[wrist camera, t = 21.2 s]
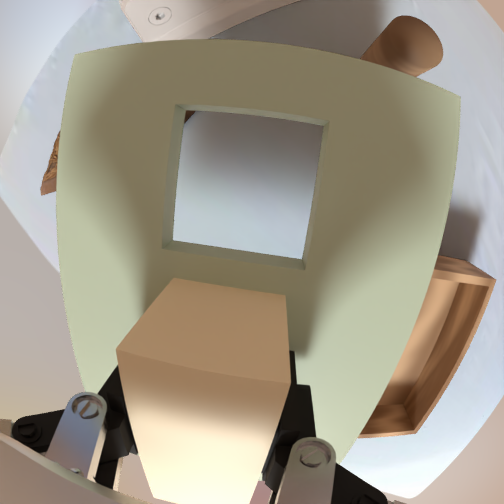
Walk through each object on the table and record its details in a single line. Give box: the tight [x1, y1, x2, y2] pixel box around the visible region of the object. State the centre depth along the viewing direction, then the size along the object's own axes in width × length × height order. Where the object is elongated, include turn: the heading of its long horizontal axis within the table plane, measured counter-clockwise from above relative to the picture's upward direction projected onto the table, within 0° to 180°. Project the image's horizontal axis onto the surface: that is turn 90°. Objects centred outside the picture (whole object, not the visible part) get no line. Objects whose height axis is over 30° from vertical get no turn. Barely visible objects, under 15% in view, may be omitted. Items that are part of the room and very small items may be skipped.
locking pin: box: [360, 16, 443, 77], centre depth 17 cm, size 4×4×12 cm
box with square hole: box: [358, 255, 496, 438], centre depth 27 cm, size 15×22×6 cm
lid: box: [56, 39, 461, 504], centre depth 9 cm, size 15×22×6 cm
